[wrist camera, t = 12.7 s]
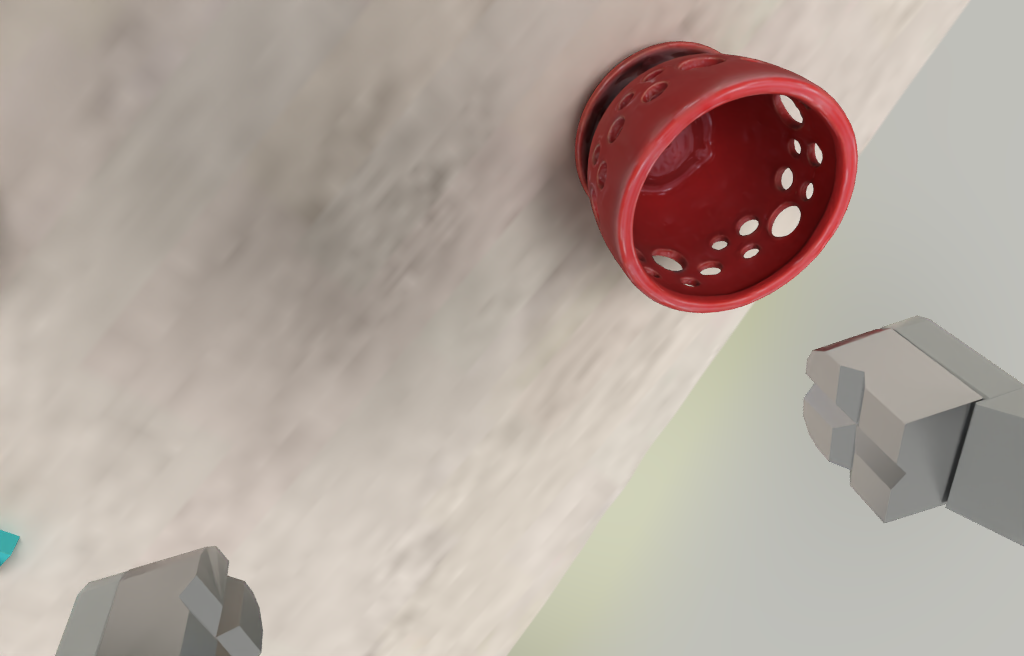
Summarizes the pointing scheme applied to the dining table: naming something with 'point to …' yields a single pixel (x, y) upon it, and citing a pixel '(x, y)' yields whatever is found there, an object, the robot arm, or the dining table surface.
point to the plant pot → (711, 172)
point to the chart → (7, 545)
